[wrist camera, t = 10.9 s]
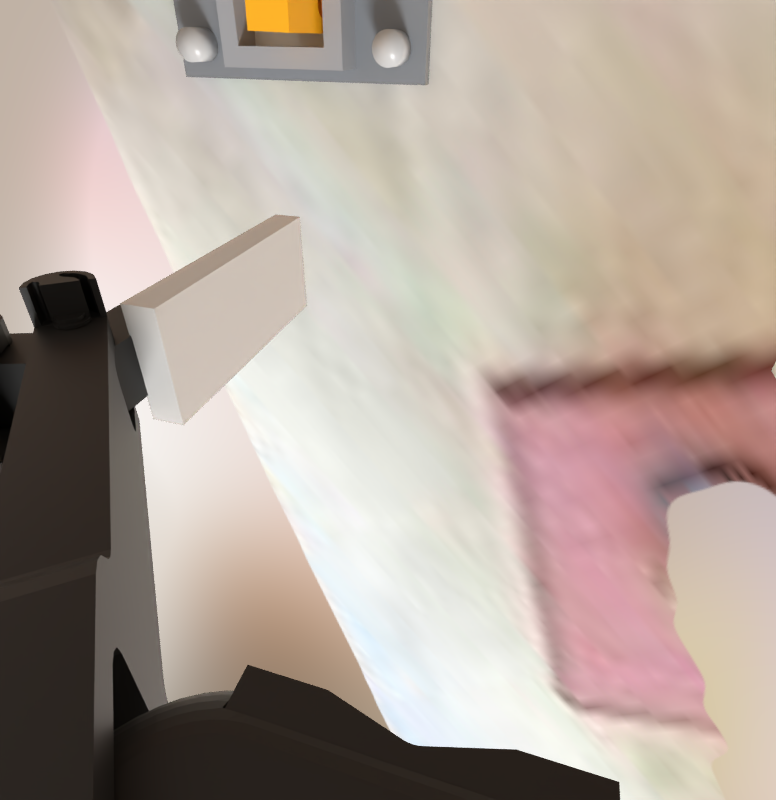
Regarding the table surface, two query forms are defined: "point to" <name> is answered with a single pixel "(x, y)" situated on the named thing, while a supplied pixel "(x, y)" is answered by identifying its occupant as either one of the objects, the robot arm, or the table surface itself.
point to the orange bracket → (284, 16)
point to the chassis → (309, 43)
